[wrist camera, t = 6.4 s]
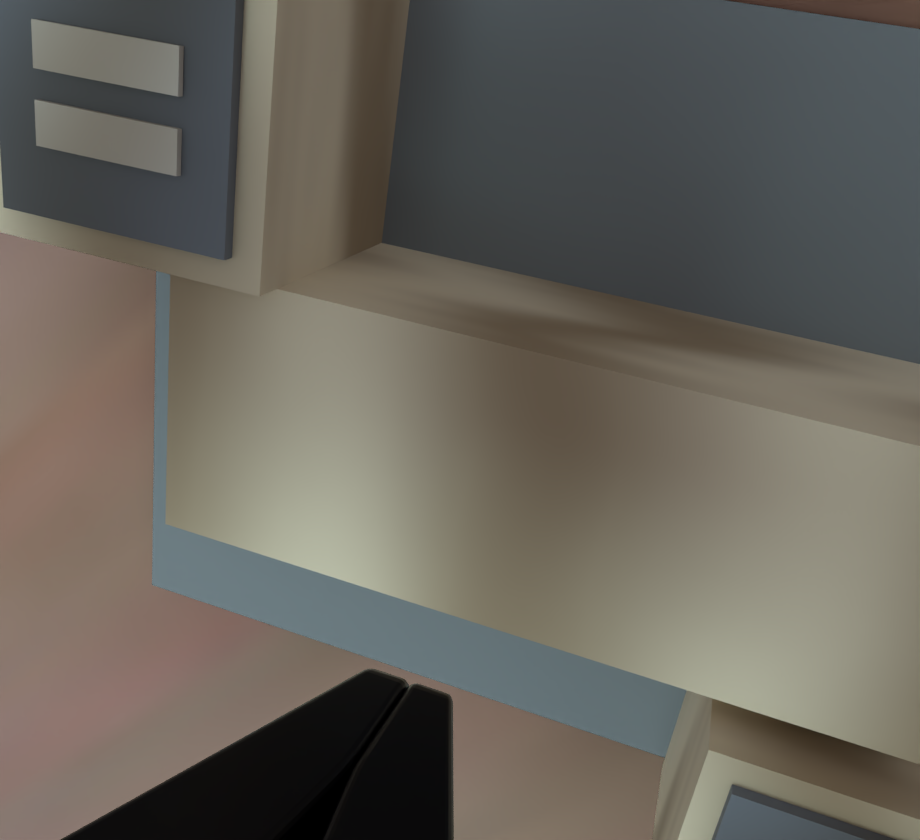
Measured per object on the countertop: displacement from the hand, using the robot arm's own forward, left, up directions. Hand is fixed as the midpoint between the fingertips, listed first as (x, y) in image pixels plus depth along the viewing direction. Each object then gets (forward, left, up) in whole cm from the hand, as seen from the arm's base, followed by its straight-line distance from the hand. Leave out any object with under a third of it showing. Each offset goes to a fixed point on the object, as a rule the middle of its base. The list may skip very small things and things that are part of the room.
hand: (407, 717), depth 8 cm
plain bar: (0, 0, -9) cm, 9 cm away
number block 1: (+6, -4, -9) cm, 12 cm away
